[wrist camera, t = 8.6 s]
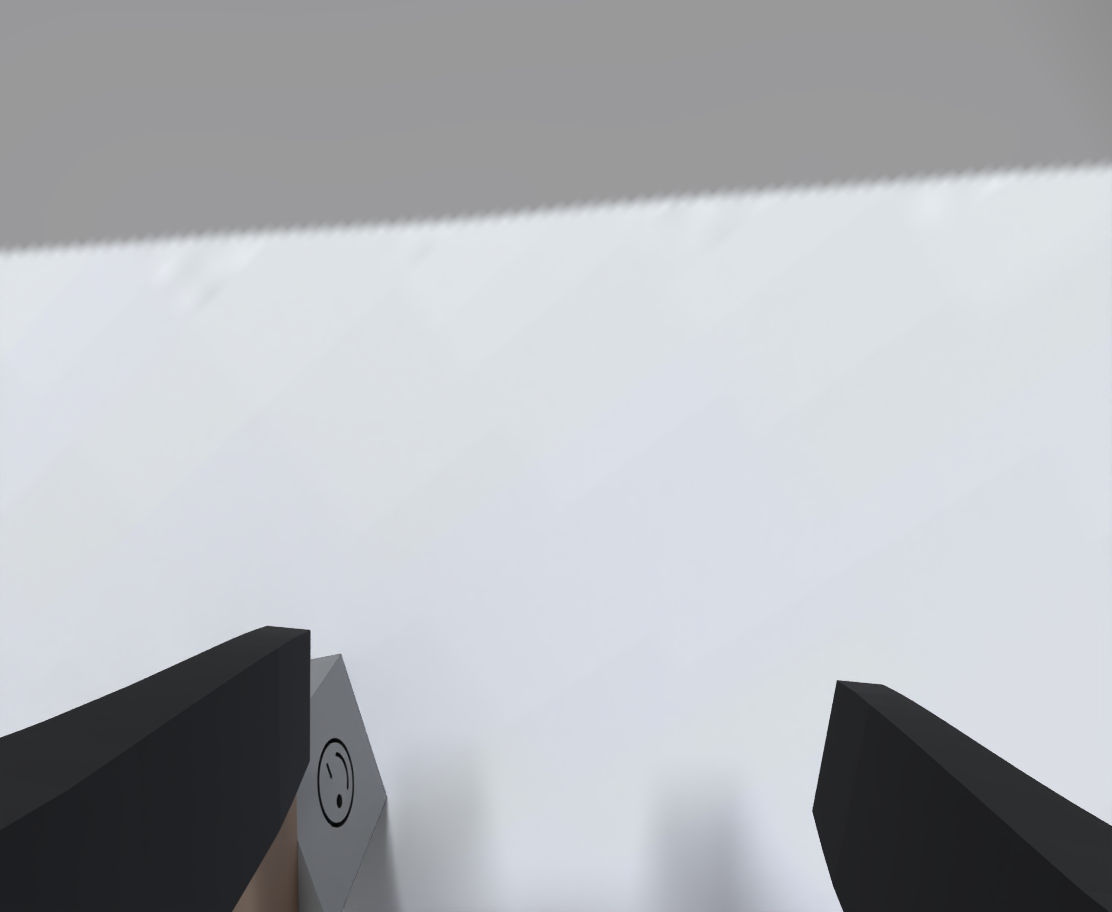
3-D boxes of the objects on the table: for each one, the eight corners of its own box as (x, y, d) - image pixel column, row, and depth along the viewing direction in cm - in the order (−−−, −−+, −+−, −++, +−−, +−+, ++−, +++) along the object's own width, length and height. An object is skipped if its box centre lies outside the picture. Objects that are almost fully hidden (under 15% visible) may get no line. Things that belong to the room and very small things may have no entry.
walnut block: (295, 760, 16) (192, 924, 12) (298, 919, 17) (203, 1123, 13) (108, 743, 17) (-60, 900, 12) (121, 902, 18) (-30, 1099, 13)
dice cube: (387, 795, 22) (331, 935, 18) (238, 821, 23) (143, 965, 18) (341, 652, 21) (269, 759, 16) (186, 683, 22) (70, 795, 17)
